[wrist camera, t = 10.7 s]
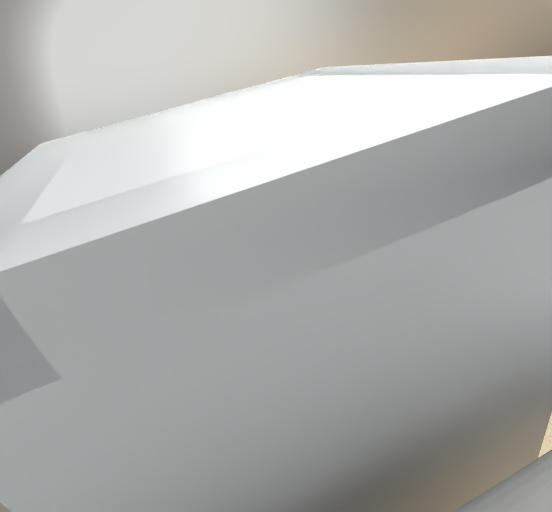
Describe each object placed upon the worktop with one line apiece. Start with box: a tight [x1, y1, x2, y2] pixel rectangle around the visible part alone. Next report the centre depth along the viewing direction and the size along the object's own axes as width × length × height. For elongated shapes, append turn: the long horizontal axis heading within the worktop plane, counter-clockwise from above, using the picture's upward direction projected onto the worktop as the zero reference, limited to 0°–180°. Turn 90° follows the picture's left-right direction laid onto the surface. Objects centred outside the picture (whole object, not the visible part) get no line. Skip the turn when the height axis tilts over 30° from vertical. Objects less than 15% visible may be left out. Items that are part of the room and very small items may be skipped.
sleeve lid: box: [0, 56, 552, 512], centre depth 7 cm, size 6×6×10 cm
